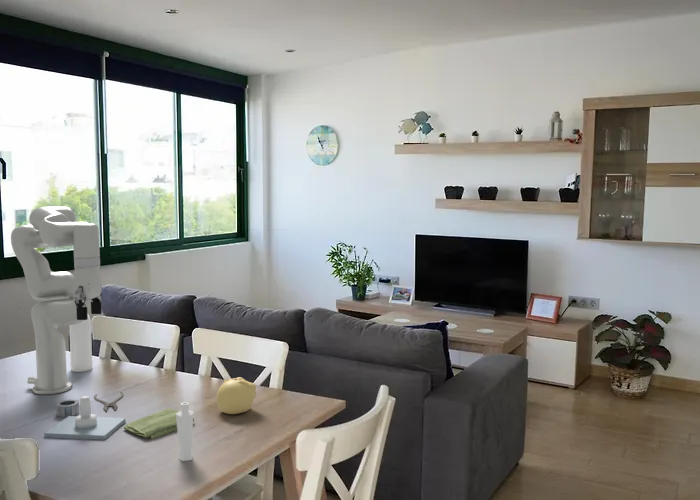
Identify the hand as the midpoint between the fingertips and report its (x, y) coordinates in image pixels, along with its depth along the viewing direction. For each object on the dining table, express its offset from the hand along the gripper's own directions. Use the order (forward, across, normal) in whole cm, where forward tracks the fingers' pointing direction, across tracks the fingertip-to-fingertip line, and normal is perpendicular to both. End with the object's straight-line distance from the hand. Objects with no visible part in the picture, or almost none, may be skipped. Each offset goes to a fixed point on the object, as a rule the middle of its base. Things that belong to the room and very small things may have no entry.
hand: (89, 316), depth 206 cm
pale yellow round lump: (+32, -4, +45) cm, 55 cm away
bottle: (+30, -46, -26) cm, 61 cm away
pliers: (+31, -10, +2) cm, 33 cm away
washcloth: (+32, +11, +25) cm, 42 cm away
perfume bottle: (+32, +33, +40) cm, 61 cm away
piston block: (+31, +15, +4) cm, 35 cm away
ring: (+31, +2, -7) cm, 32 cm away
